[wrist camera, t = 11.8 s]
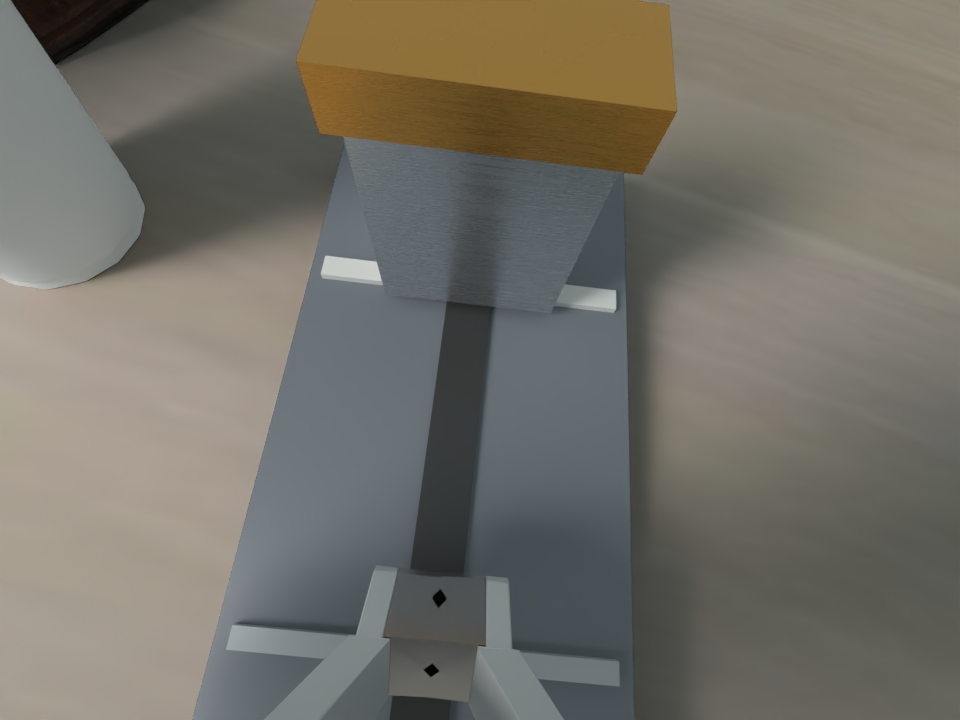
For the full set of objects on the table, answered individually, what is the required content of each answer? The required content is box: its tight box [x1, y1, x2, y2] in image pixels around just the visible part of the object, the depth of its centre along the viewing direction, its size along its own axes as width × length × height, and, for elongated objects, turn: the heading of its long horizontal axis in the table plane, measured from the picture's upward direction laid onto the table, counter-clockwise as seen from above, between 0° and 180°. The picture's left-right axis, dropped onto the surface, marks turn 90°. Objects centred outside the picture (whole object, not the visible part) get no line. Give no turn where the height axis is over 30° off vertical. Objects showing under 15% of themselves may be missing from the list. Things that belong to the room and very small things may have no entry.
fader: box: [296, 0, 677, 314], centre depth 13 cm, size 3×7×9 cm, turn 85°
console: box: [192, 143, 634, 720], centre depth 16 cm, size 24×12×2 cm, turn 174°
